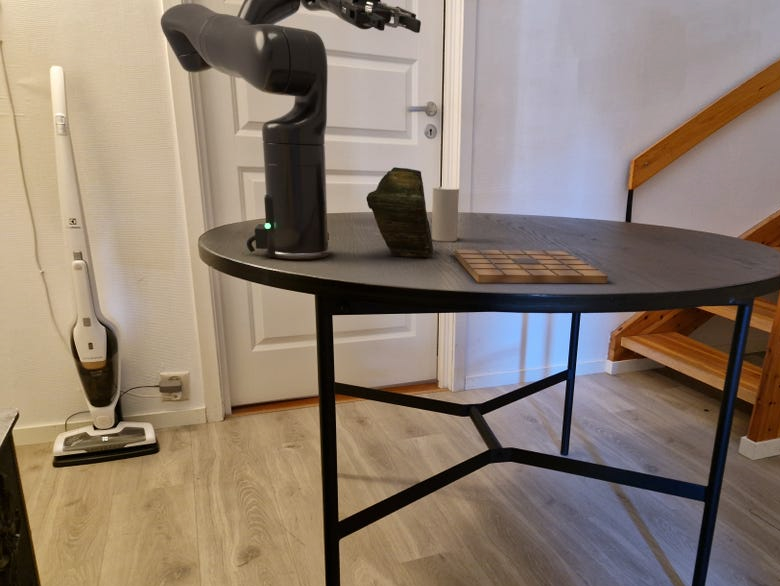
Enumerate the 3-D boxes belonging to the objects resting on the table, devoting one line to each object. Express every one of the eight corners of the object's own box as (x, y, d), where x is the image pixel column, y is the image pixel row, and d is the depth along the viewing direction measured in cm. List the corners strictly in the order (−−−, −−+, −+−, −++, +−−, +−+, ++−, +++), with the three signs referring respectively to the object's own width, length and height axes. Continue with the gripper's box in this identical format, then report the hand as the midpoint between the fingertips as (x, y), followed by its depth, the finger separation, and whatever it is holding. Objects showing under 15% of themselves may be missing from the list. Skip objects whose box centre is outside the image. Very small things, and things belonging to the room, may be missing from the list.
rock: (432, 262, 101) (418, 168, 95) (377, 269, 101) (360, 174, 96) (436, 246, 112) (424, 161, 107) (387, 252, 113) (373, 167, 107)
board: (478, 282, 89) (478, 273, 89) (454, 256, 107) (454, 248, 107) (606, 283, 93) (607, 274, 93) (563, 257, 112) (563, 250, 111)
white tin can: (433, 241, 121) (434, 188, 118) (429, 236, 126) (431, 186, 122) (459, 241, 122) (461, 189, 119) (454, 237, 127) (456, 187, 123)
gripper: (380, 25, 132) (427, 48, 124) (322, 21, 123) (368, 46, 115) (384, -15, 128) (433, 6, 120) (324, -22, 119) (372, 0, 111)
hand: (401, 26), depth 117 cm, fingers open, 8 cm apart
